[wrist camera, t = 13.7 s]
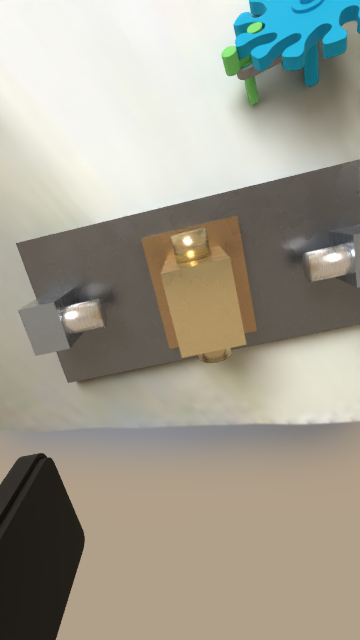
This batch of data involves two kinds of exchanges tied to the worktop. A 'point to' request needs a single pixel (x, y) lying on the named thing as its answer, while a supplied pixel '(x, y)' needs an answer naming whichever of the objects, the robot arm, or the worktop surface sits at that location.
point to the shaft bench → (265, 259)
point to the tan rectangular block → (202, 298)
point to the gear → (288, 37)
